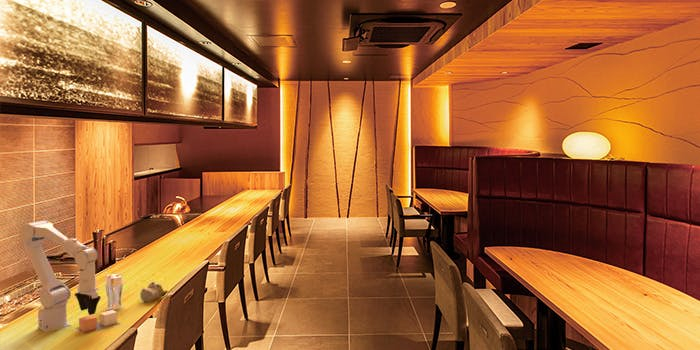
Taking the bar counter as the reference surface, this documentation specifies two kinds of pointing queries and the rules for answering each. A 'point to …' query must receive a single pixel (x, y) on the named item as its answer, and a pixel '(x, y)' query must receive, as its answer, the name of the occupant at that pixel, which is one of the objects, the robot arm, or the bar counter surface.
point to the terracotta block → (87, 323)
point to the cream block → (108, 317)
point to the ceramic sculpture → (152, 292)
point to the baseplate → (98, 327)
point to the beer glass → (114, 291)
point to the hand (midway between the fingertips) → (87, 311)
